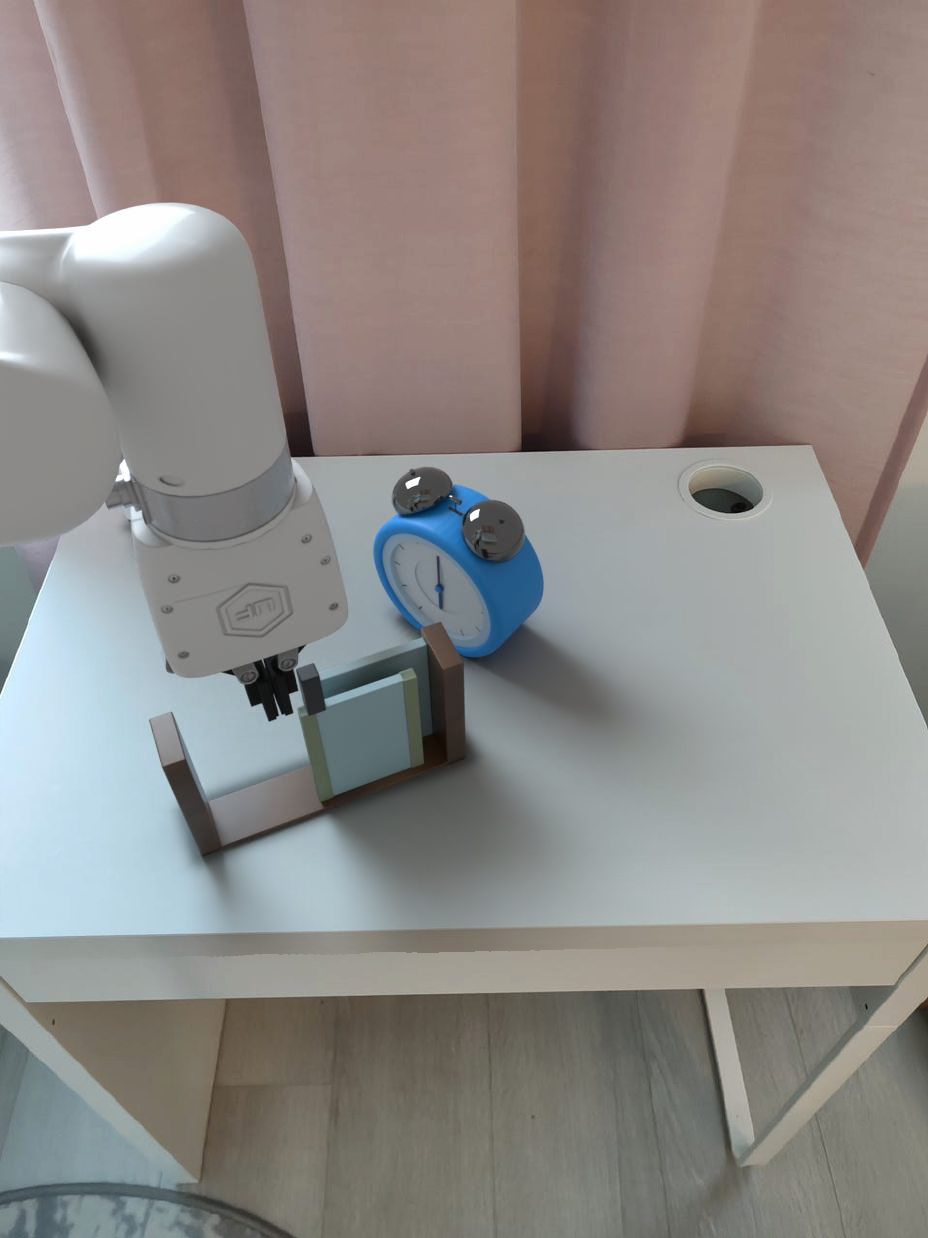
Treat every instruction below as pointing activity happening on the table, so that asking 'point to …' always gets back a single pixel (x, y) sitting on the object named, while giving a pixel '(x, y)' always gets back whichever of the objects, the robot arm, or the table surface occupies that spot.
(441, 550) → the alarm clock
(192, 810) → the window frame
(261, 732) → the table surface
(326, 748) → the pane
